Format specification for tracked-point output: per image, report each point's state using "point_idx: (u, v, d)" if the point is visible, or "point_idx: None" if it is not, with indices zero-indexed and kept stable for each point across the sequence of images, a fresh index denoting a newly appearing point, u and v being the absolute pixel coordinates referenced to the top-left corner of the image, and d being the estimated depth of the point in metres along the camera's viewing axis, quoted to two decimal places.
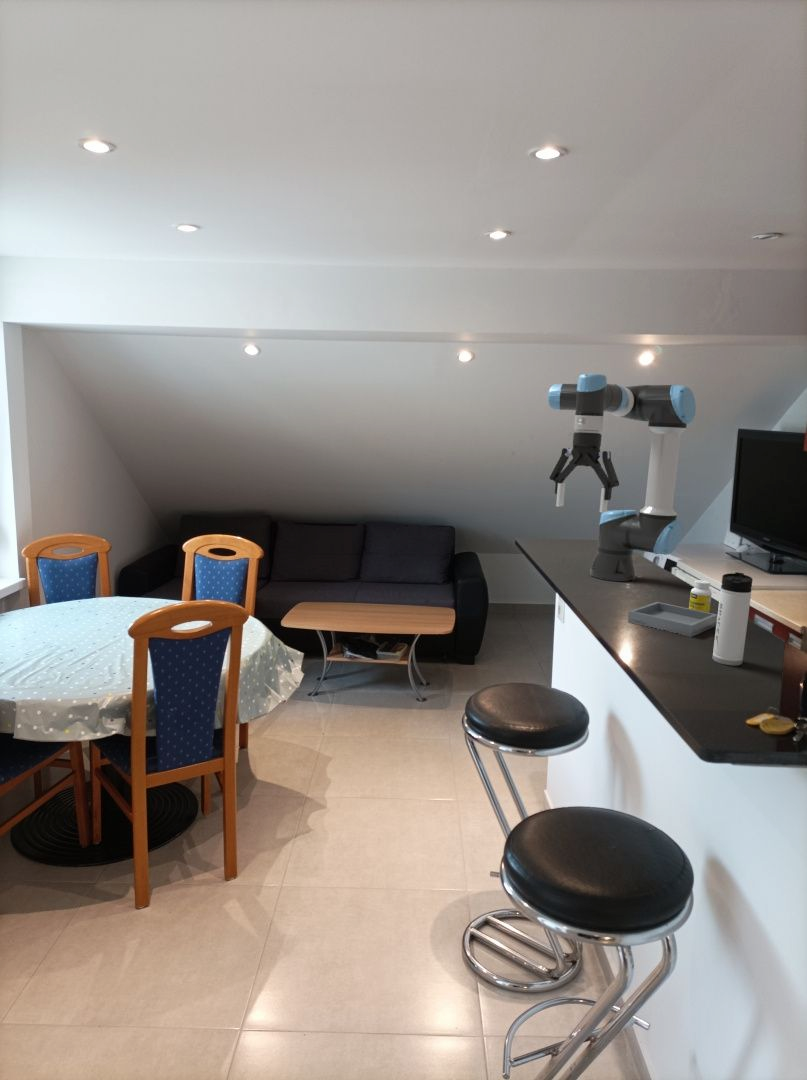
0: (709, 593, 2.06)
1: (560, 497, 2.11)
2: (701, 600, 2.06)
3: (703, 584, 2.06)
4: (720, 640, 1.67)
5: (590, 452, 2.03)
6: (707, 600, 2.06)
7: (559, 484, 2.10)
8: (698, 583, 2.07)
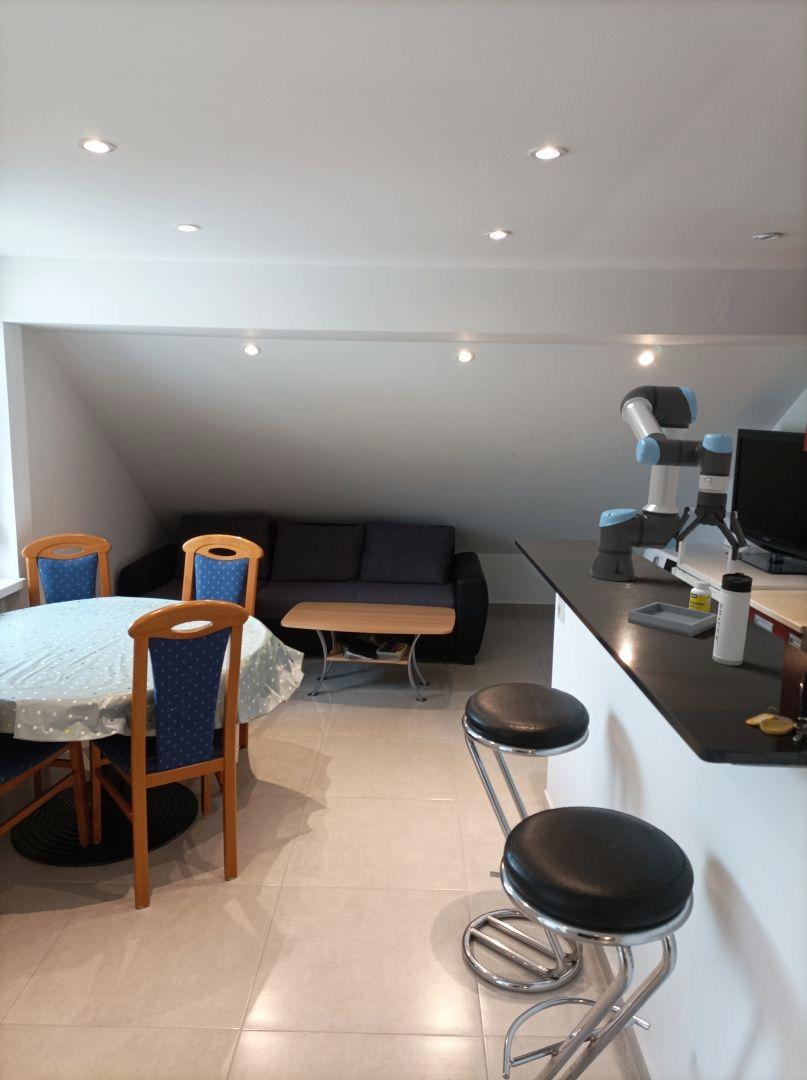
0: (709, 593, 2.06)
1: (681, 555, 2.10)
2: (701, 600, 2.06)
3: (703, 584, 2.06)
4: (720, 640, 1.67)
5: (716, 512, 2.02)
6: (707, 600, 2.06)
7: (681, 542, 2.09)
8: (698, 583, 2.07)
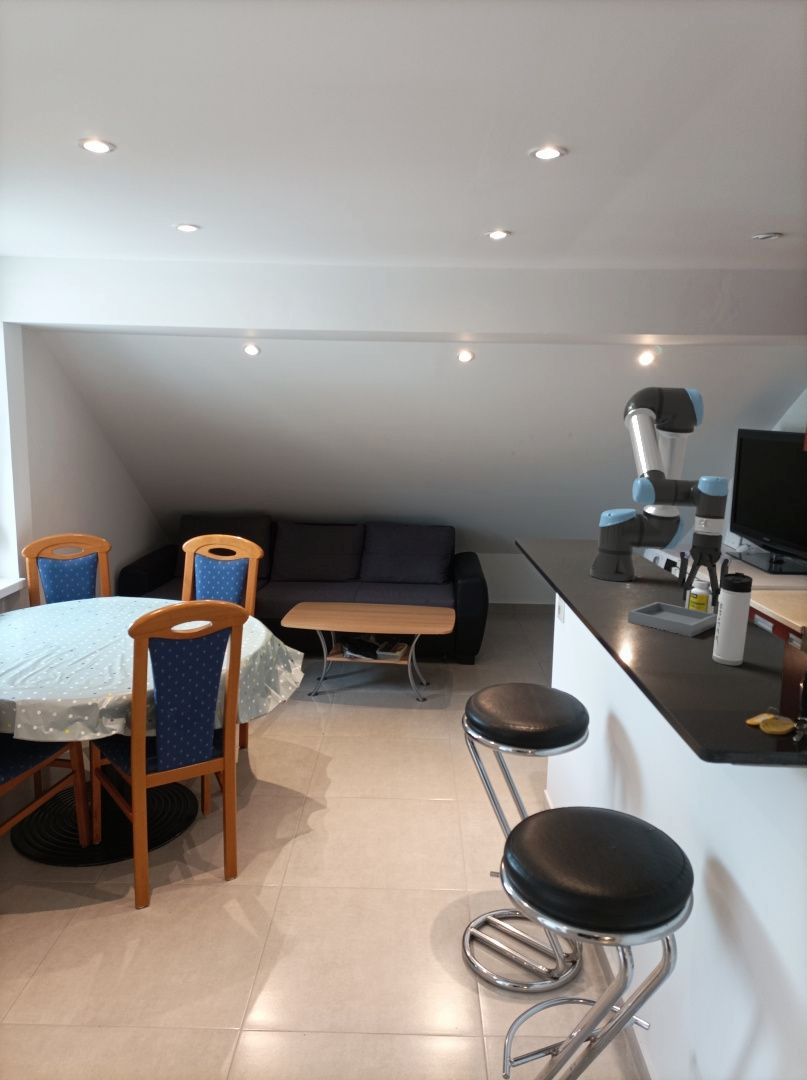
0: (709, 593, 2.06)
1: (689, 604, 2.10)
2: (701, 600, 2.06)
3: (703, 584, 2.06)
4: (720, 640, 1.67)
5: (712, 552, 2.04)
6: (707, 600, 2.06)
7: (688, 591, 2.09)
8: (698, 583, 2.07)
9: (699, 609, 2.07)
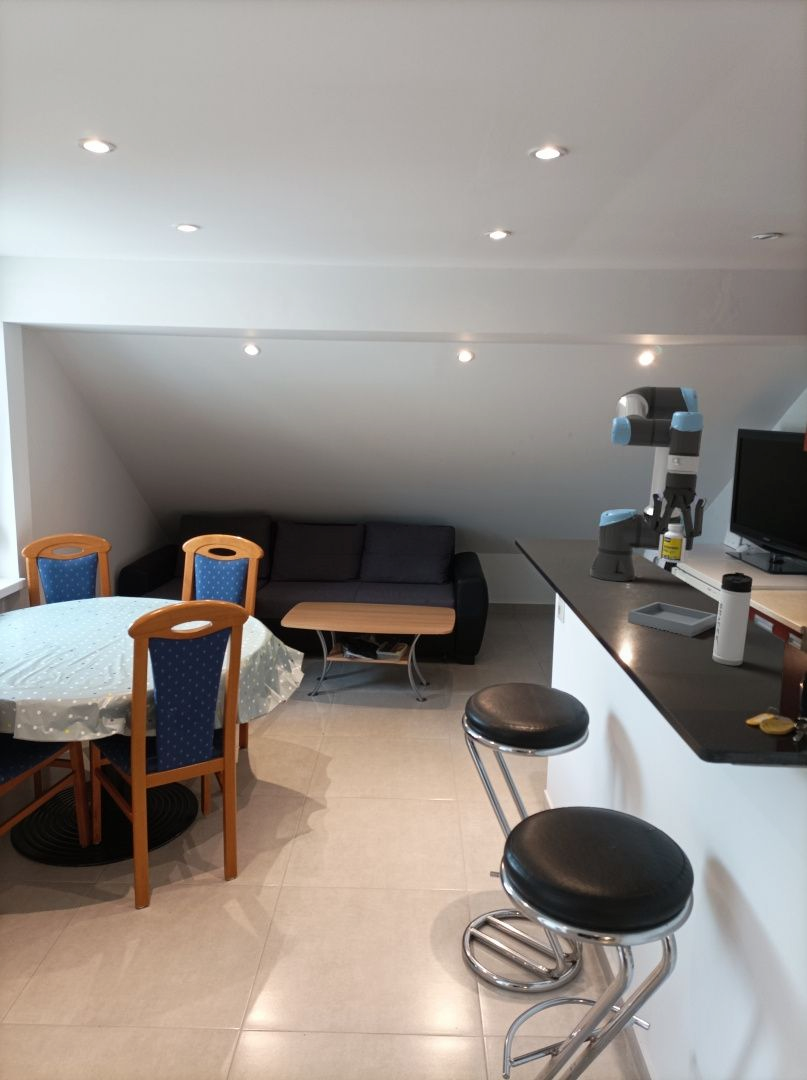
0: (683, 536, 1.94)
1: (662, 549, 1.98)
2: (674, 544, 1.94)
3: (677, 526, 1.94)
4: (720, 640, 1.67)
5: (686, 492, 1.92)
6: (681, 543, 1.94)
7: (662, 535, 1.98)
8: (672, 526, 1.95)
9: (672, 553, 1.95)
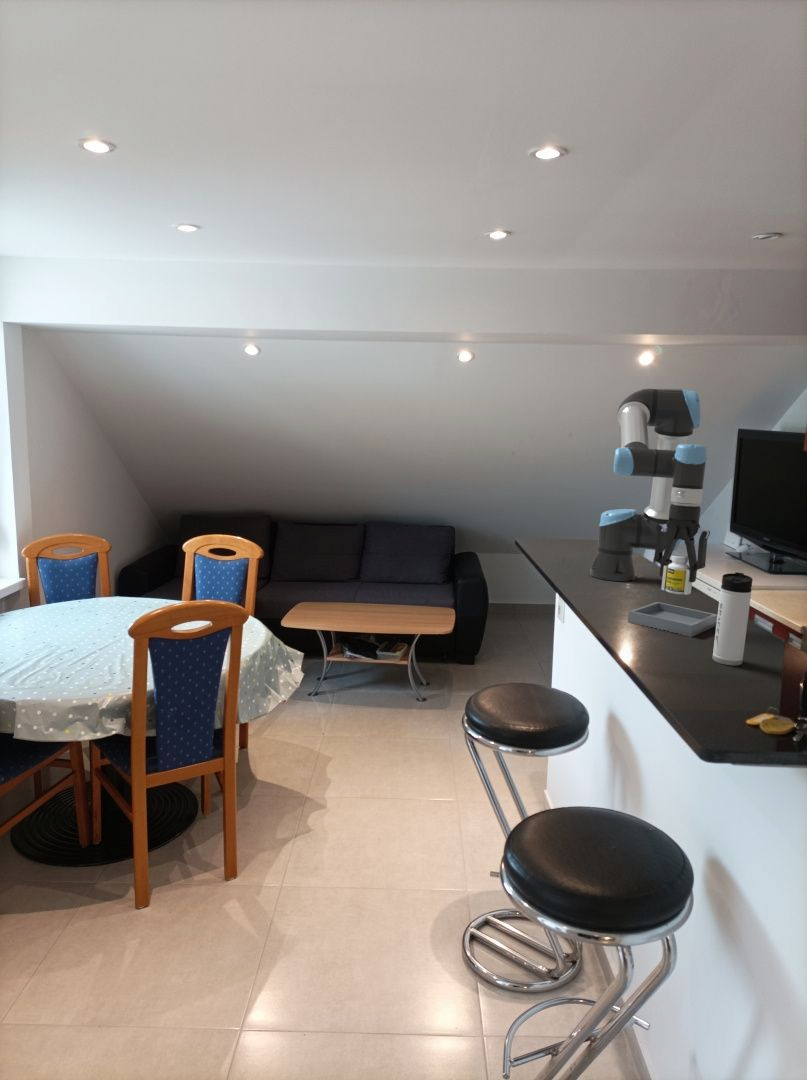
0: (687, 568, 1.94)
1: None
2: (678, 576, 1.94)
3: (681, 558, 1.94)
4: (720, 640, 1.67)
5: (690, 524, 1.92)
6: (684, 575, 1.94)
7: (665, 567, 1.98)
8: (675, 557, 1.95)
9: (676, 585, 1.95)
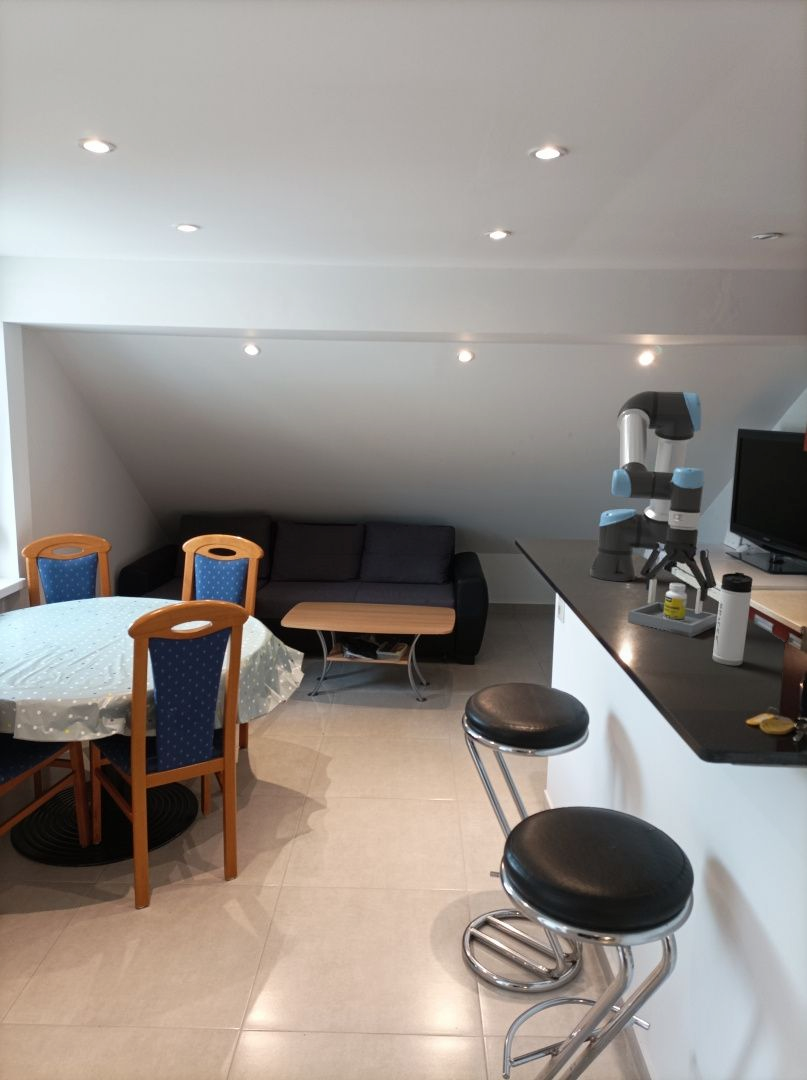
0: (684, 596, 1.96)
1: (652, 594, 2.02)
2: (675, 604, 1.96)
3: (678, 587, 1.96)
4: (720, 640, 1.67)
5: (686, 549, 1.94)
6: (682, 604, 1.96)
7: (651, 580, 2.01)
8: (673, 586, 1.96)
9: (673, 613, 1.96)
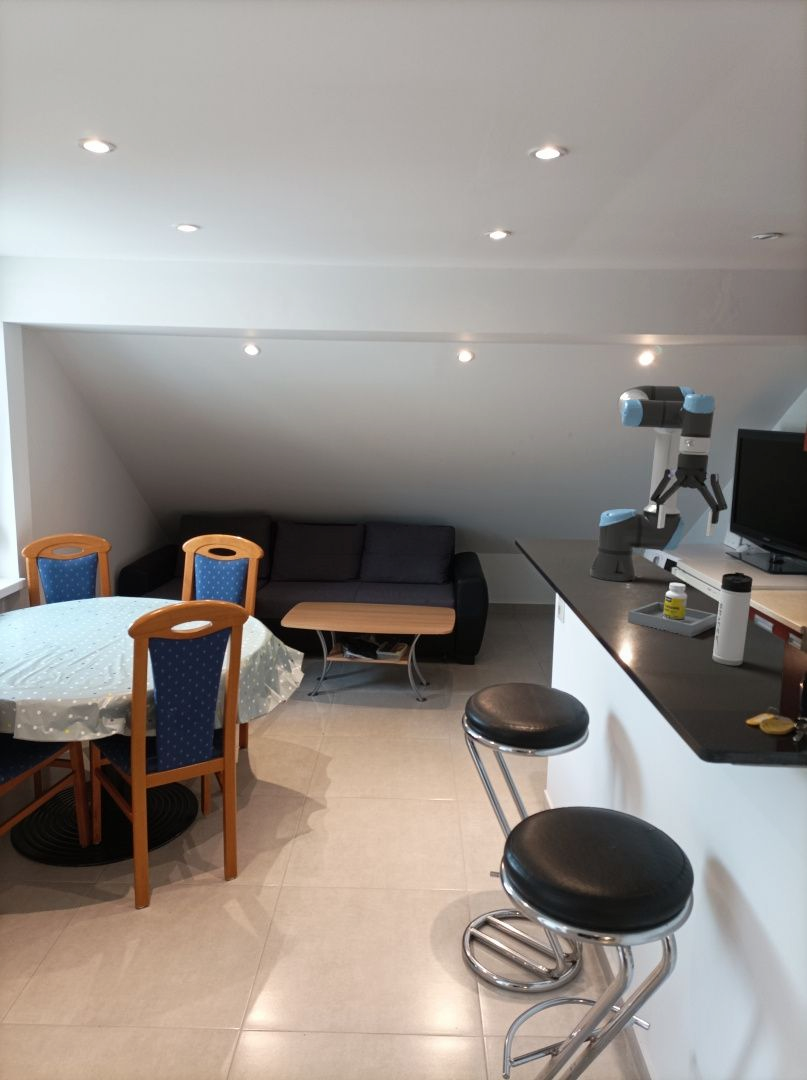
0: (684, 596, 1.96)
1: (661, 519, 2.07)
2: (675, 604, 1.96)
3: (678, 587, 1.96)
4: (720, 640, 1.67)
5: (696, 474, 1.98)
6: (682, 604, 1.96)
7: (661, 506, 2.06)
8: (673, 586, 1.96)
9: (673, 613, 1.96)
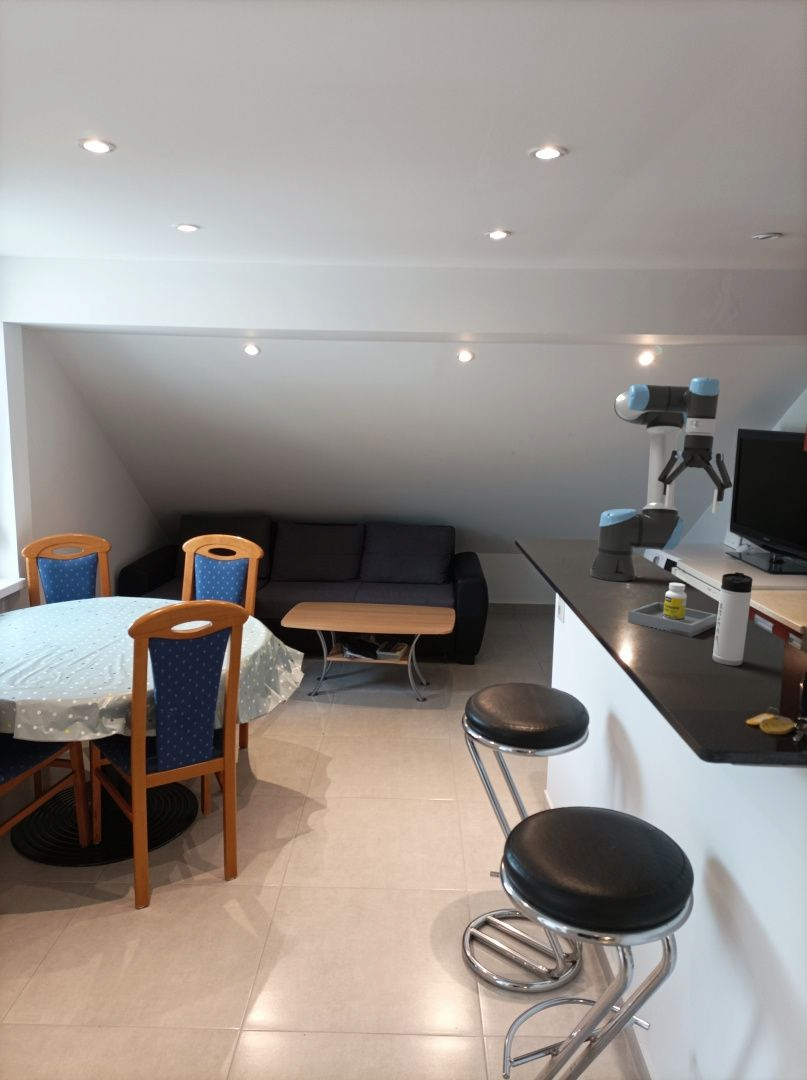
0: (684, 596, 1.96)
1: (669, 498, 2.16)
2: (675, 604, 1.96)
3: (678, 587, 1.96)
4: (720, 640, 1.67)
5: (702, 454, 2.08)
6: (681, 603, 1.96)
7: (668, 485, 2.15)
8: (672, 586, 1.96)
9: (673, 613, 1.96)
